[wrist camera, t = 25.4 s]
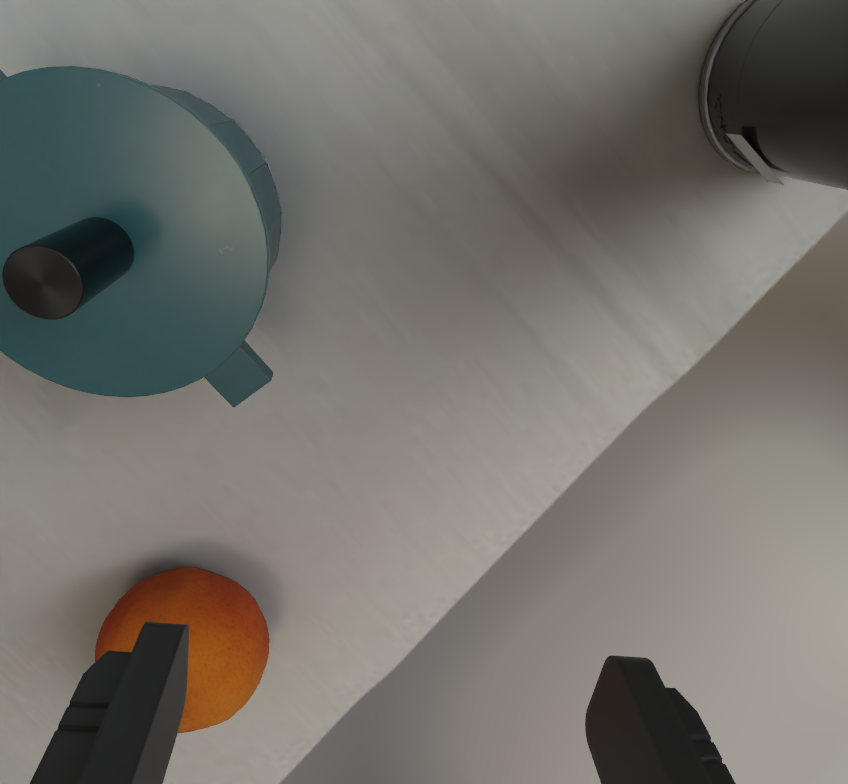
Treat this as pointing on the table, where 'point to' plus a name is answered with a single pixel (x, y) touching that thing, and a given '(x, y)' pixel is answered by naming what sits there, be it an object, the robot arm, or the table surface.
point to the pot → (245, 365)
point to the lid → (121, 235)
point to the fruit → (198, 637)
